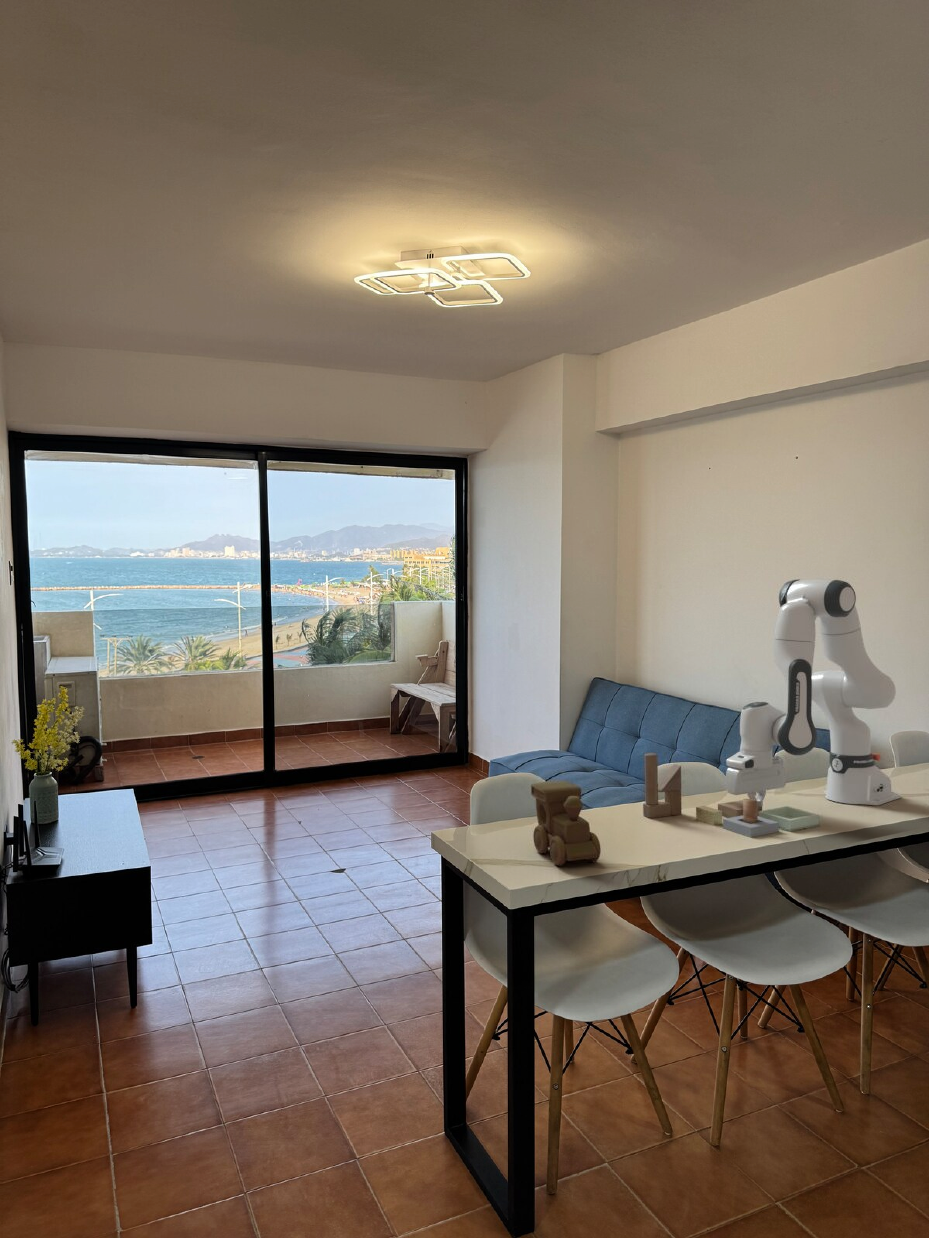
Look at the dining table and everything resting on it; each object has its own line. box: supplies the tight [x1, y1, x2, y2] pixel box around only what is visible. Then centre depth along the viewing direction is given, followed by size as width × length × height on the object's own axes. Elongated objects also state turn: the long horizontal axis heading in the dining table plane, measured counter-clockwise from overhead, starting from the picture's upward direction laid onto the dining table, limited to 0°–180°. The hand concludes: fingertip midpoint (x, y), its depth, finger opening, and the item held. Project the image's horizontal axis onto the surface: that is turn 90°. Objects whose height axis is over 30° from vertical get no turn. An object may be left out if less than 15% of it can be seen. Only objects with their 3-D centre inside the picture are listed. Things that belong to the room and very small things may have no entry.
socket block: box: [722, 815, 779, 838], centre depth 228 cm, size 10×10×2 cm
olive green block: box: [695, 805, 723, 826], centre depth 237 cm, size 3×7×4 cm, turn 27°
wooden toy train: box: [530, 780, 601, 867], centre depth 209 cm, size 20×11×17 cm, turn 17°
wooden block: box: [642, 752, 682, 819], centre depth 245 cm, size 4×11×18 cm, turn 109°
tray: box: [758, 805, 820, 832], centre depth 233 cm, size 11×11×3 cm
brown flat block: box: [717, 799, 763, 819], centre depth 243 cm, size 9×8×4 cm
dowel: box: [742, 798, 758, 824], centre depth 228 cm, size 4×4×8 cm
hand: (756, 806), depth 246 cm, fingers closed
